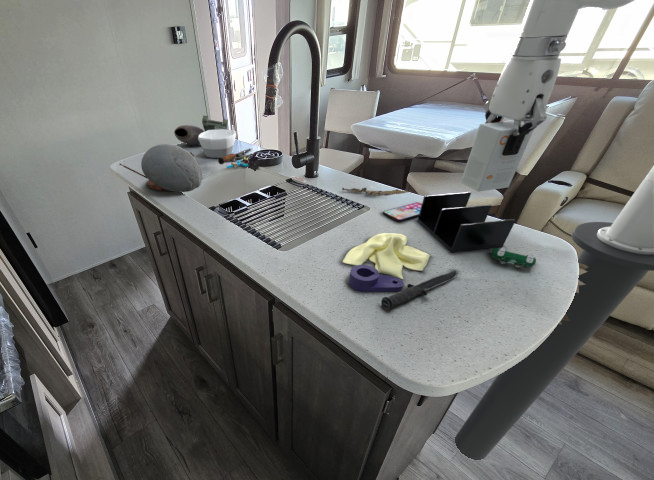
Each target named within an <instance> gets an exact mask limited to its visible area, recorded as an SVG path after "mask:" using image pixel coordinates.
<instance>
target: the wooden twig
mask: <svg viewBox="0 0 654 480" xmlns="http://www.w3.org/2000/svg"><path fill="white" fill-rule="evenodd" d="M341 189H342V190H341V191H347V192H354V193H365V194H366V195H367V196H369V197H381V196H385V197H388V196H393V195H401V194H406V193H407V194H408V193H411V194H412V193H413V191H412V190H411V189H410V190H403V189H392V190H368V188H367V187H362V188H361V189H360V188H356V187H352V188H344V187H341ZM401 190H402V191H401Z"/></svg>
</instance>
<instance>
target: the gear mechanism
mask: <svg viewBox="0 0 654 480" xmlns="http://www.w3.org/2000/svg"><path fill="white" fill-rule="evenodd" d="M243 151H244V150H243ZM245 155H246V154H245V151H244V158H243V159H242V160H236V161H234V162H230V164H228V165H226V169H231V168H233V169H236V168H238V166H241V167H249V165H248V158H249V157H248V158H245Z"/></svg>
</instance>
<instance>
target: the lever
mask: <svg viewBox="0 0 654 480" xmlns="http://www.w3.org/2000/svg"><path fill="white" fill-rule="evenodd" d="M348 285H349V286H350V287H351V289H353V290H355V291H357V292H361V293H397V292H399V291H402V290H403V287H404V285H405V283H404V281H403V279H400V278H397V277H394V276H391V275H386V274H381V273H379V272H378V270H377V269H375V266H371V265H368V264H361V265H353V266H352V268H350V272H349V278H348Z"/></svg>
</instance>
